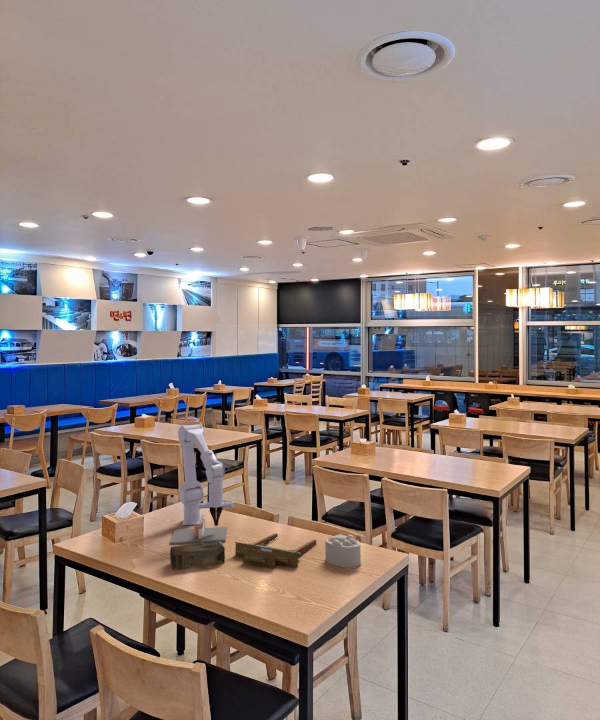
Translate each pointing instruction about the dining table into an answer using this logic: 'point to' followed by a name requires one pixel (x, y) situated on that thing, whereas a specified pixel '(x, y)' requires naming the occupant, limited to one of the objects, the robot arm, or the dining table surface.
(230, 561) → the dining table surface
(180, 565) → the dark olive rectangular block
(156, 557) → the dining table surface
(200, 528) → the gate
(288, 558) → the miniature gate
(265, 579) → the dining table surface
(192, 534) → the grey plate with bar
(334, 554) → the lumpy-topped squat cylinder
